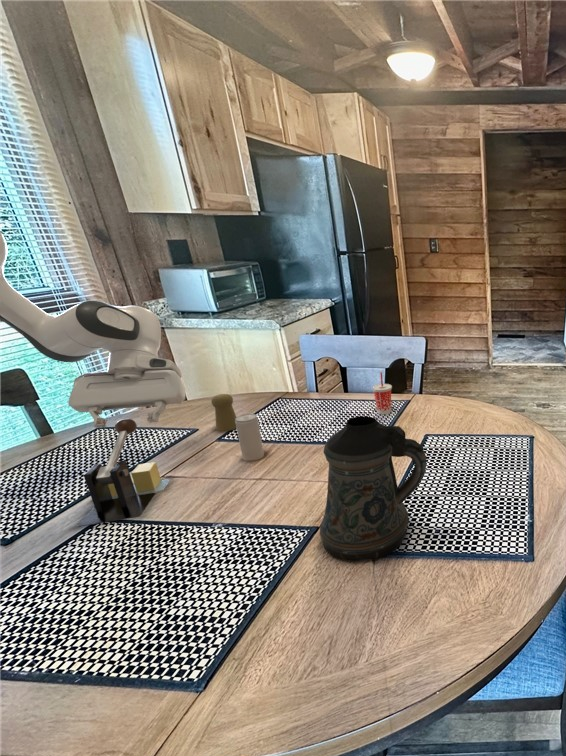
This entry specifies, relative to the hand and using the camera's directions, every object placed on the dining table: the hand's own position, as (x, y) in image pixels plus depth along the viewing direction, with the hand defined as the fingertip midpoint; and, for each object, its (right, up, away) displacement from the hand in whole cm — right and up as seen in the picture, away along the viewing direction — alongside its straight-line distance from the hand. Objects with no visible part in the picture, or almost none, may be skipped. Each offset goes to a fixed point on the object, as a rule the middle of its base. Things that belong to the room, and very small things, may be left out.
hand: (126, 424), depth 93 cm
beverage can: (+19, -11, +16) cm, 27 cm away
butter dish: (+1, -15, +1) cm, 16 cm away
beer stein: (+58, -21, -9) cm, 63 cm away
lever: (+2, -6, -3) cm, 7 cm away
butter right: (+4, -14, +1) cm, 15 cm away
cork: (+1, -5, +32) cm, 32 cm away
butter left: (-1, -15, -1) cm, 15 cm away
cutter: (+4, -18, -6) cm, 19 cm away
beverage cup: (+43, -1, +48) cm, 64 cm away
